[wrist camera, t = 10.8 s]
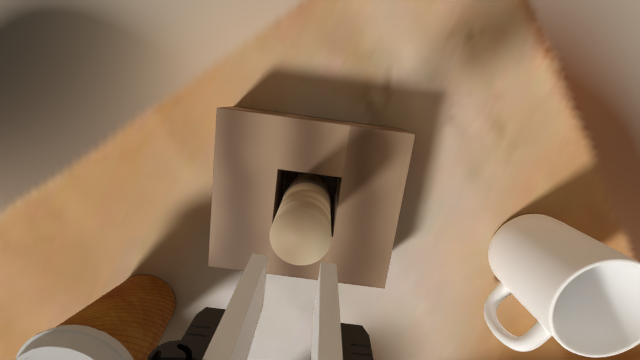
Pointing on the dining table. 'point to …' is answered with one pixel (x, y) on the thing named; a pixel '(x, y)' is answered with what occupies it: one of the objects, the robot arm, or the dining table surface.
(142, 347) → the disposable coffee cup
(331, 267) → the robot arm
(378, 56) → the dining table surface
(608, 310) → the cup
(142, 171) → the dining table surface
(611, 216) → the dining table surface
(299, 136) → the board
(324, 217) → the peg
